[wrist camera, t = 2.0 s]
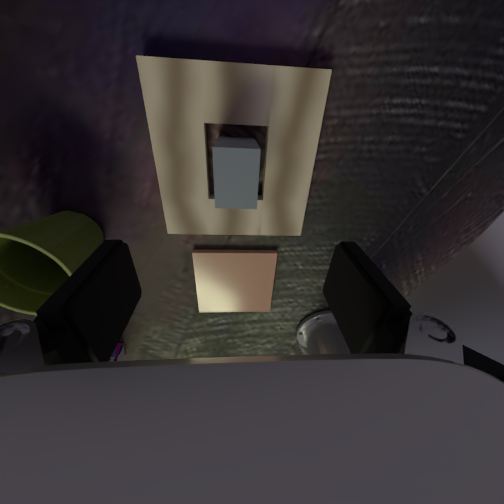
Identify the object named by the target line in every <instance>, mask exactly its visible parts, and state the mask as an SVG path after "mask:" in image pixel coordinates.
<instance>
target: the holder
mask: <svg viewBox="0 0 504 504" xmlns="http://www.w3.org/2000/svg"><path fill="white" fill-rule="evenodd" d="M136 59H137V65H138V70H139V76H140V81H141V87H142V92H143V98H144V104H145V109H146V115H147V120H148V126H149V131H150V137H151V143H152V148H153V154H154V159H155V165H156V170H157V176H158V182H159V187H160V193H161V198H162V204H163V209H164V215H165V221H166V226H167V232H168V234H219V235H295V236H300V235H301V230H302V225H303V220H304V214H305V209H306V204H307V198H308V193H309V188H310V183H311V177H312V172H313V167H314V162H315V156H316V151H317V146H318V141H319V135H320V130H321V125H322V119H323V114H324V109H325V104H326V98H327V93H328V88H329V83H330V77H331V72H332V70H331V69H317V68H303V67H289V66H275V65H262V64H248V63H234V62H220V61H206V60H192V59H178V58H164V57H151V56H137V55H136ZM206 123H216V124H236V125H255V126H267V129H266V143H265V156H264V170H263V184H262V195H258V199H257V209H227V208H215V195H214V194H210V187H209V169H208V152H207V134H206Z"/></svg>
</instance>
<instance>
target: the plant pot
mask: <svg viewBox="0 0 504 504" xmlns="http://www.w3.org/2000/svg"><path fill="white" fill-rule="evenodd" d="M103 242H104V236H103V232H102V230H101V228H100V227H99V225H98V224H97V223H96V222H95V221H93V220H92V219H91V218H89V217H88V216H86V215H84V214H80V213H76V212H73V211H62V212H59V213H56V214H53V215H50V216H47V217H44V218H41V219H37V220H34V221H31V222H28V223H25V224H22V225H19V226H16V227H13V228H5V229H1V230H0V306H2V307H5V308H8V309H10V310H13V311H17V312H21V313H26V314H32V315H37V314H36V311H37V310H38V309H39V308H40V307H41V306H42V305H43V304H44V303H45V302H46V300H47V299H48V298H49V297H50V296H51V295H52V294H53V293H54V292H55V291H56V290H57V289H58V288H59V287H60V286H61V285H62V284H63V283H64V282H65V281H66V280H67V279H68V278H69V277H70V276H71V275H72V274H73V273H74V272H75V270H76V269H77V268H78V267H79V266H80V265H81V264H82V263H83V262H84V261H85V260H86V259H87V258H88V257H89V256H90V255H91V254H92V253H93V252H94V251H95V250H96V249H97V248H98V247H99V246H100V245H101V244H102V243H103Z"/></svg>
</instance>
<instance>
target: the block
mask: <svg viewBox="0 0 504 504" xmlns="http://www.w3.org/2000/svg"><path fill="white" fill-rule="evenodd" d="M212 151H213V173H214V195H215V208H227V209H257V199H258V183H259V167H260V151H261V149H260V147H259V145H258V144H257V142H256V140H255V139H254V138H247V137H225V136H218V138H217V140H216V142H215V143H214V145H213V147H212Z"/></svg>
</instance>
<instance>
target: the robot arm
mask: <svg viewBox="0 0 504 504" xmlns="http://www.w3.org/2000/svg"><path fill="white" fill-rule="evenodd" d="M323 294H324V297H325V299H326V301H327V303H328V305H329V307H330V309H331V310H326V311H321V312H317V313H314V314H312V315H310V316H308V317H306V318H305V319H304V320H303V321H302V322H301V323H300V324H299V325H298V327H297V330H296V336H297V340H298V342H299V343H300V344H301V345H302V346H304V347H306V348H307V350H308V353H309V355H279V356H247V357H216V358H187V359H160V360H133V361H109V360H110V358H111V356H112V354H113V352H114V350H115V348H116V346H117V344H118V342H119V340H120V338H121V336H122V334H123V332H124V330H125V328H126V326H127V324H128V322H129V320H130V318H131V316H132V313H133V311H134V309H135V307H136V305H137V303H138V301H139V299H140V297H141V287H140V283H139V280H138V277H137V274H136V270H135V267H134V264H133V260H132V257H131V254H130V251H129V247H128V245H127V244H126V243H123V241H122V240H105V241H104V242H103V243H102V244H101V245H100V246H99V247H98V248H97V249H96V250H95V251H94V252H93V253H92V254H91V255H90V256H89V257H88V258H87V259H86V260H85V261H84V262H83V263H82V264H81V265H80V266H79V267H78V268H77V269H76V270H75V272H74V273H73V274H72V275H71V276H70V277H69V278H68V279H67V280H66V281H65V282H64V283H63V284H62V285H61V286H60V287H59V288H58V289H57V290H56V291H55V292H54V293H53V294H52V295H51V296H50V297H49V298H48V299H47V300H46V302H45V303H44V304H43V305H42V306H41V307H40V308H39V309H38V310H37V311H36V314H37V315H38V316H37V317H36V318H35V319H34V320H33V321H32V320H30V319H18V320H12V321H9V322H6V323H3V324H1V325H0V504H504V365H502V364H501V363H498V362H497V361H494V360H492V359H490V358H488V357H486V356H484V355H482V354H480V353H478V352H476V351H474V350H472V349H470V348H468V347H466V346H464V345H462V339H461V336H460V334H459V333H458V331H457V330H456V329H455V328H454V327H453V326H452V325H451V324H450V323H448V322H447V321H445V320H443V319H442V318H440V317H438V316H436V315H433V314H430V313H425V312H416V313H414V314H412V312H411V311H410V310H409V309H410V307H411V305H410V304H409V303H408V302H407V301H406V300H405V298H404V297H403V296H402V295H401V294H400V293H399V292H398V290H397V289H396V288H395V287H394V286H393V285H392V284H391V282H390V281H389V280H388V279H387V278H386V277H385V276H384V274H383V273H382V272H381V271H380V270H379V269H378V268H377V266H376V265H375V264H374V263H373V262H372V261H371V260H370V258H369V257H368V256H367V255H366V254H365V253H364V252H363V250H362V249H361V248H360V247H359V246H358V245H357V244H356V243H355V242H340V244H339V245H336V247H335V250H334V253H333V257H332V260H331V263H330V267H329V270H328V274H327V277H326V280H325V284H324V287H323Z"/></svg>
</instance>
